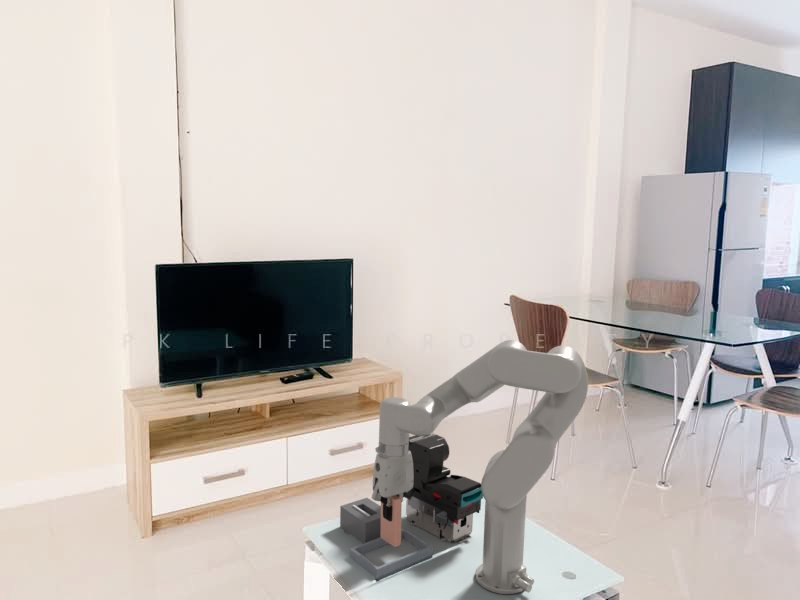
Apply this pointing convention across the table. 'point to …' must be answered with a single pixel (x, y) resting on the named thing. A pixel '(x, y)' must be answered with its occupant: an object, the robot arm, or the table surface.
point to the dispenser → (361, 519)
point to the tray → (396, 564)
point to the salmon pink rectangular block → (392, 523)
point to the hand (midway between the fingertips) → (391, 517)
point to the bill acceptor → (440, 492)
